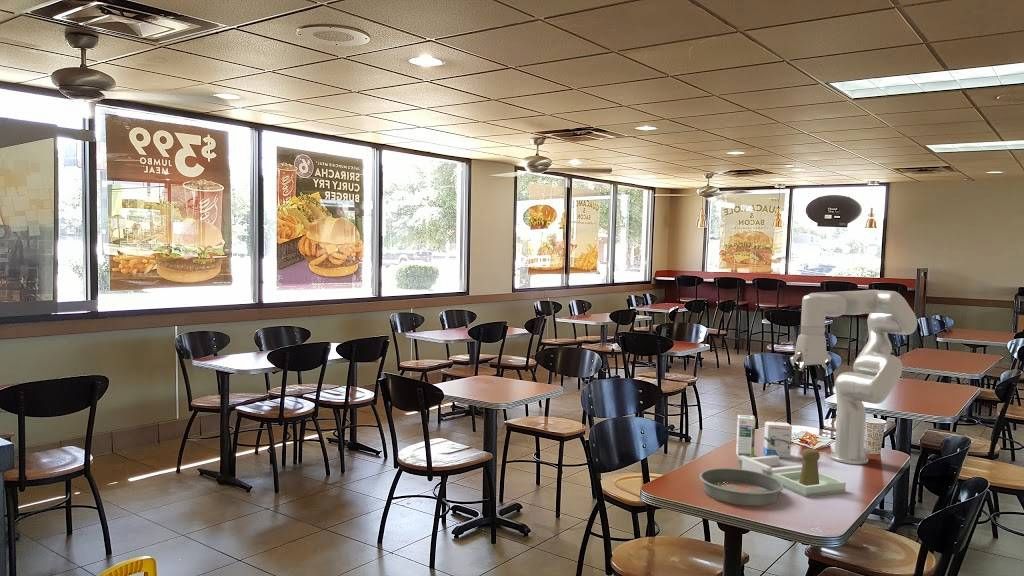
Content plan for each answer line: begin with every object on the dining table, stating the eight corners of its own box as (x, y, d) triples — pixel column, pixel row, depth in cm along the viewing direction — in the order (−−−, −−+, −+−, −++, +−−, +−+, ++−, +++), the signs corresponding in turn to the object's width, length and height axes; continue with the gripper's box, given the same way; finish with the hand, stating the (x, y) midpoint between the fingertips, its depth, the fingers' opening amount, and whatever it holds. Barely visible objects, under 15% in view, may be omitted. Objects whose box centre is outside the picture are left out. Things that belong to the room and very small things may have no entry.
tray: (811, 478, 241) (811, 469, 240) (845, 491, 228) (845, 482, 227) (772, 482, 235) (773, 473, 234) (805, 497, 222) (805, 487, 221)
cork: (810, 487, 227) (812, 453, 227) (794, 482, 233) (796, 448, 232) (823, 485, 230) (825, 451, 230) (807, 479, 236) (809, 446, 235)
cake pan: (801, 502, 218) (802, 487, 218) (737, 512, 207) (738, 497, 207) (742, 477, 240) (743, 464, 240) (682, 486, 229) (682, 471, 229)
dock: (774, 463, 256) (775, 452, 256) (804, 475, 243) (805, 463, 243) (737, 467, 250) (738, 455, 250) (766, 479, 237) (766, 467, 237)
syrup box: (737, 457, 263) (739, 417, 262) (735, 452, 268) (737, 413, 268) (753, 458, 261) (755, 418, 261) (752, 454, 267) (754, 415, 266)
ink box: (766, 456, 265) (767, 424, 264) (762, 452, 270) (764, 421, 269) (790, 458, 264) (792, 426, 263) (787, 454, 269) (788, 422, 268)
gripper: (823, 329, 255) (820, 378, 256) (784, 330, 249) (781, 380, 250) (840, 332, 248) (837, 382, 249) (800, 333, 242) (798, 384, 243)
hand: (809, 381), depth 249 cm, fingers open, 9 cm apart
